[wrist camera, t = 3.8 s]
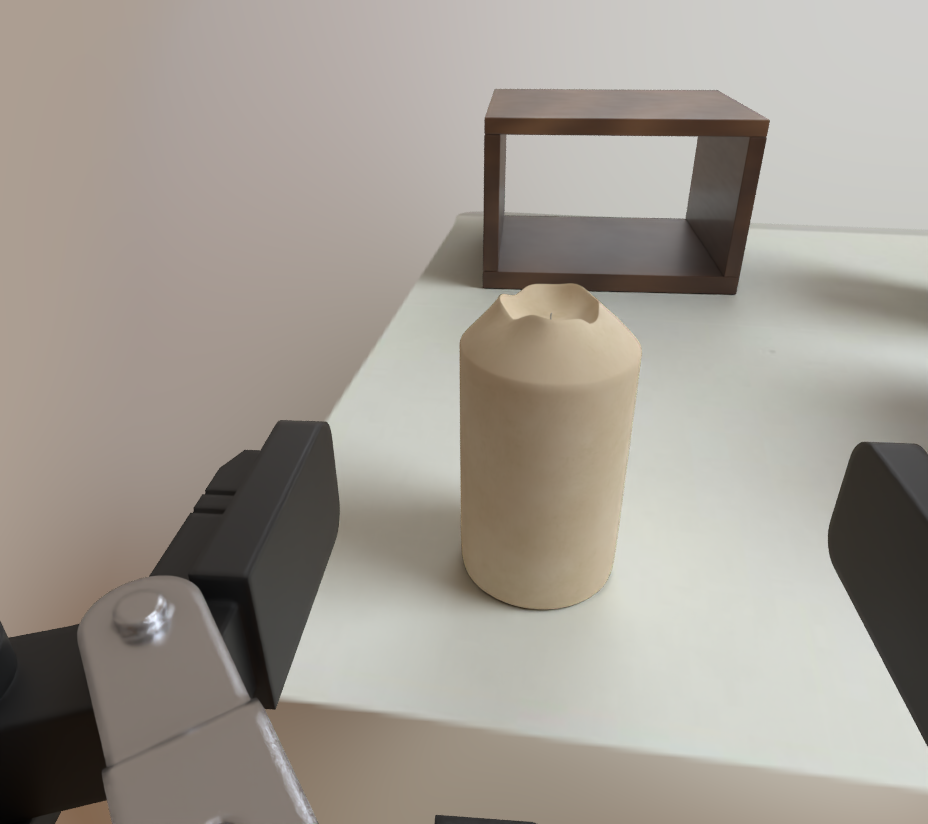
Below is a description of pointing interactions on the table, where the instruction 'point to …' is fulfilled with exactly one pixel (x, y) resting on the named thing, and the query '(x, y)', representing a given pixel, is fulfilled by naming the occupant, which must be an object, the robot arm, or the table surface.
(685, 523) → the table surface
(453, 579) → the table surface
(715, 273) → the shelf
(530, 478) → the candle
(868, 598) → the robot arm
